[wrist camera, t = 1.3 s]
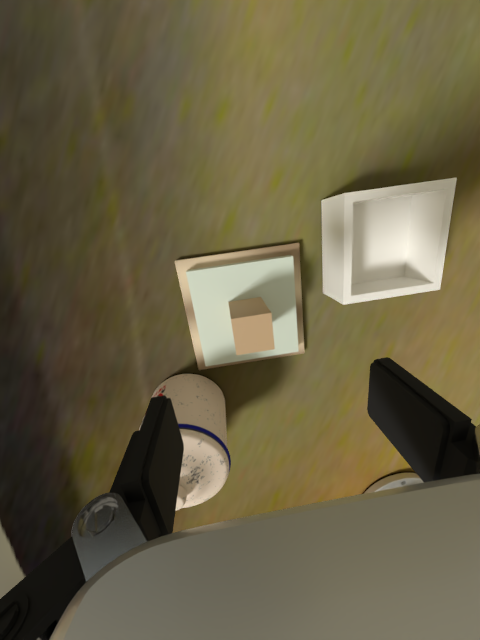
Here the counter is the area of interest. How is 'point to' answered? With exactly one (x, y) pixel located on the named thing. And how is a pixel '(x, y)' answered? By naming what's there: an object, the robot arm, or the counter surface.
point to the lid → (245, 309)
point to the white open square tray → (386, 240)
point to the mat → (229, 259)
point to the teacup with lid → (199, 436)
